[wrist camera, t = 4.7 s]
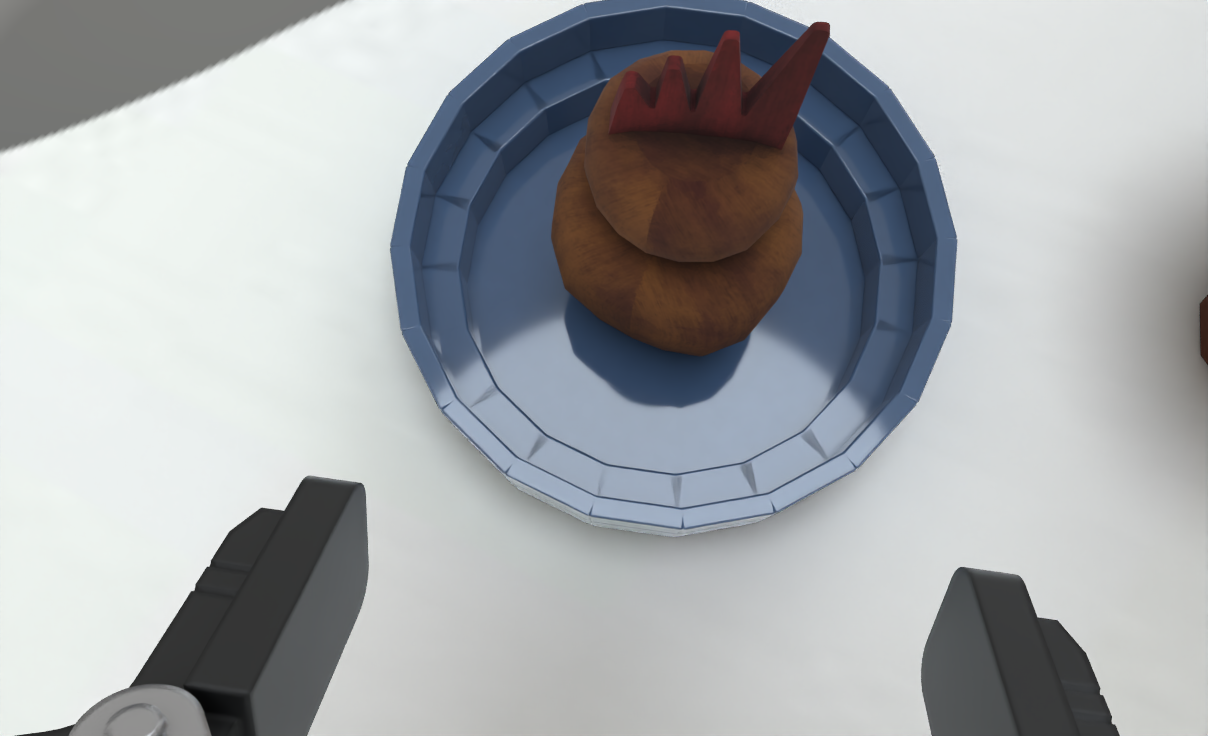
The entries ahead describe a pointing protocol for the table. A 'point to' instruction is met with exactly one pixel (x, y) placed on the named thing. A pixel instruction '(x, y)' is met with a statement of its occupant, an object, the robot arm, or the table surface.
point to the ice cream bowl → (1204, 328)
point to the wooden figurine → (687, 195)
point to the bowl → (635, 369)
